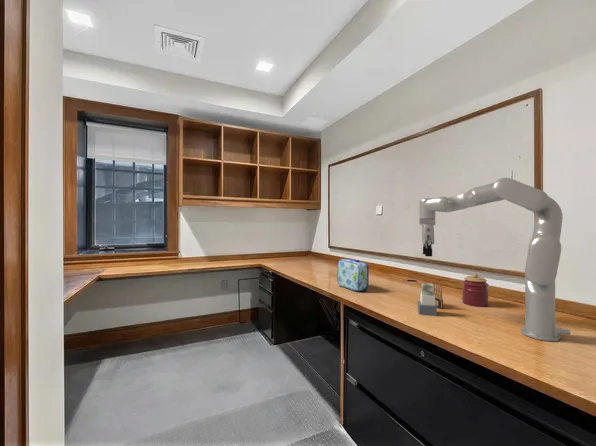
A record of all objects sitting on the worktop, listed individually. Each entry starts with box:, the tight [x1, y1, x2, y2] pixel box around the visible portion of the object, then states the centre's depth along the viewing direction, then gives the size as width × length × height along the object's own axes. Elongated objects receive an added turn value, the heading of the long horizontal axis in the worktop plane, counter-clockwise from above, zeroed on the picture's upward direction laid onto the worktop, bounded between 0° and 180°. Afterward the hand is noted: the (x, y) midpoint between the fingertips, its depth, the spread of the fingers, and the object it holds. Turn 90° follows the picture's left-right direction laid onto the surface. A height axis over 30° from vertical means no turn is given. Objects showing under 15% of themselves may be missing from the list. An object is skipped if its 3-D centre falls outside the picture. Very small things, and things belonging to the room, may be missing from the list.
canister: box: [461, 272, 489, 307], centre depth 164 cm, size 13×13×18 cm
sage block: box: [421, 282, 434, 296], centre depth 147 cm, size 5×5×5 cm
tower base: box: [417, 300, 438, 317], centre depth 147 cm, size 8×8×5 cm
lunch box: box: [336, 258, 370, 292], centre depth 200 cm, size 26×11×21 cm, turn 27°
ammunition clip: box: [428, 282, 444, 310], centre depth 159 cm, size 11×2×12 cm, turn 13°
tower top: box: [419, 291, 435, 306], centre depth 147 cm, size 6×6×5 cm
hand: (427, 255), depth 146 cm, fingers open, 9 cm apart
